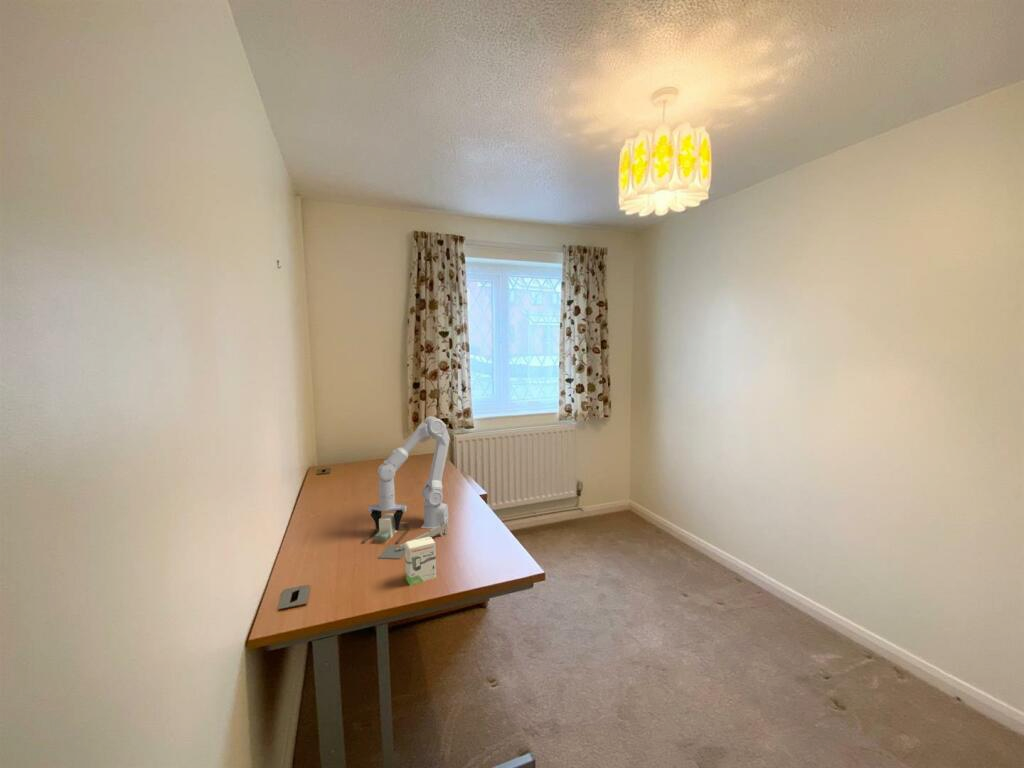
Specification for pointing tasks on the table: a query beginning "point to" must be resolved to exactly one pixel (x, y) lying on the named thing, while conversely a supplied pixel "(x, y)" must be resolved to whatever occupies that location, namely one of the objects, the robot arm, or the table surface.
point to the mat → (392, 553)
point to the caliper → (429, 534)
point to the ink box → (420, 560)
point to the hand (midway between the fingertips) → (388, 529)
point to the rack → (401, 527)
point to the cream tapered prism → (387, 524)
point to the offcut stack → (382, 537)
